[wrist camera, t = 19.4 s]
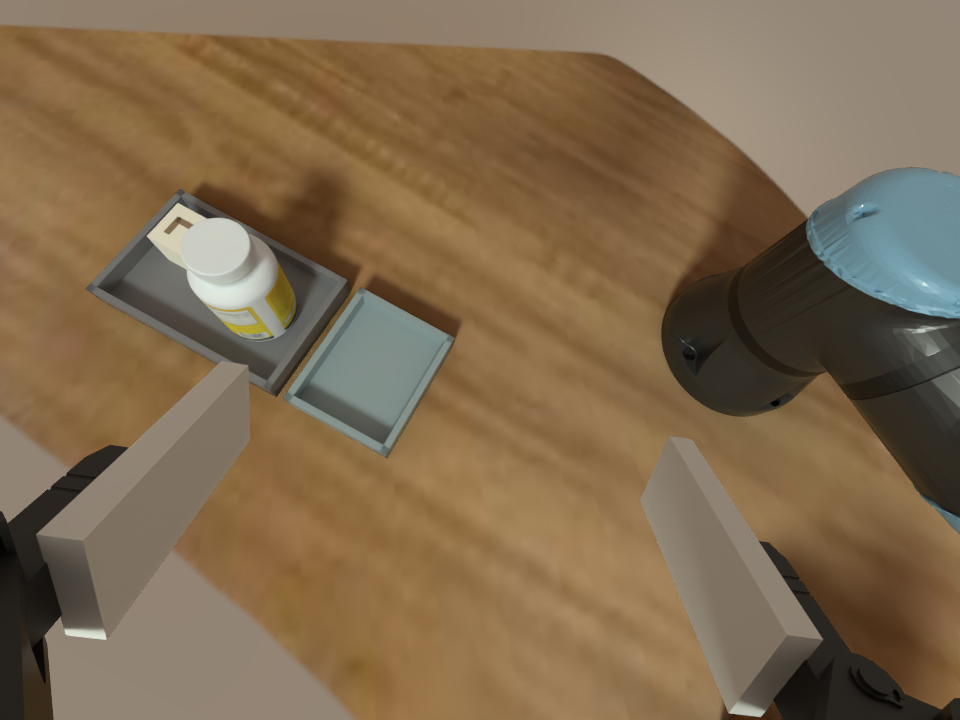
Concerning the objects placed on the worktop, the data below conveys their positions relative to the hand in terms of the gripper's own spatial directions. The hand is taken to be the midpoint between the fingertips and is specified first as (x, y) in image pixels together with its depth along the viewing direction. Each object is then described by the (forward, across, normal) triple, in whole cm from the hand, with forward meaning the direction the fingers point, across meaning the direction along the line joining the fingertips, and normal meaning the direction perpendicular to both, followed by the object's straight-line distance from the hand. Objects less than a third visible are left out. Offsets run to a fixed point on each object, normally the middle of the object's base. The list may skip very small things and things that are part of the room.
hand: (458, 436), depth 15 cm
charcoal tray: (+31, -21, -10) cm, 39 cm away
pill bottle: (+30, -18, -11) cm, 36 cm away
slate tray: (+27, -7, -14) cm, 32 cm away
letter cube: (+33, -25, -7) cm, 42 cm away
